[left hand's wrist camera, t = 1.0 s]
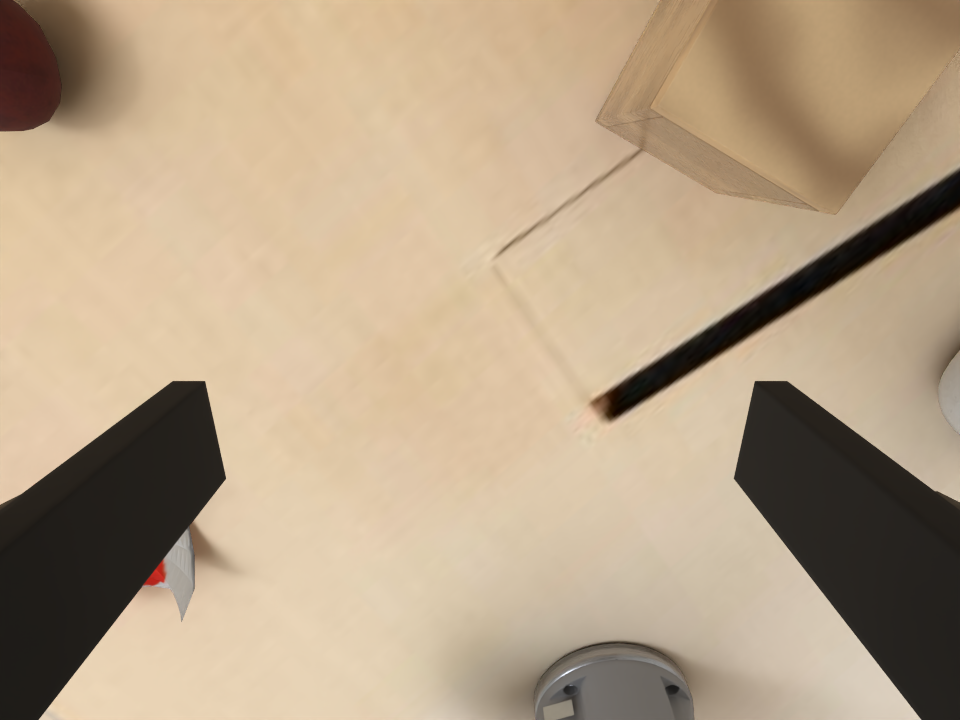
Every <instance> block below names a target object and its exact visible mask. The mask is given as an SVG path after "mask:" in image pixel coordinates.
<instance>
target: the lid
mask: <svg viewBox="0 0 960 720" xmlns="http://www.w3.org/2000/svg"><path fill="white" fill-rule="evenodd" d="M959 49H960V0H711V2H710V3H709V5H708V7H707V9H706V10H705V12H704V14H703V16H702V17H701V19H700V21H699V23H698V24H697V26H696V28H695V30H694V31H693V33H692V35H691V36H690V38H689V40H688V42H687V43H686V45H685V47H684V49H683V50H682V52H681V54H680V56H679V57H678V59H677V61H676V63H675V64H674V66H673V68H672V70H671V71H670V73H669V75H668V77H667V78H666V80H665V82H664V84H663V85H662V87H661V89H660V91H659V92H658V94H657V96H656V98H655V99H654V101H653V103H652V105H651V106H650V108H651V109H652V110H654V111H655V112H657V113H659V114H660V115H662V116H664V117H665V118H667V119H669V120H670V121H672V122H674V123H675V124H677V125H678V126H680V127H682V128H683V129H685V130H687V131H688V132H690V133H692V134H693V135H695V136H697V137H698V138H700V139H702V140H703V141H705V142H706V143H708V144H710V145H711V146H713V147H715V148H716V149H718V150H720V151H721V152H723V153H725V154H726V155H728V156H730V157H731V158H733V159H734V160H736V161H738V162H739V163H741V164H743V165H744V166H746V167H748V168H749V169H751V170H753V171H754V172H756V173H758V174H759V175H761V176H762V177H764V178H766V179H767V180H769V181H771V182H772V183H774V184H776V185H777V186H779V187H781V188H782V189H784V190H786V191H787V192H789V193H790V194H792V195H794V196H795V197H797V198H799V199H800V200H802V201H804V202H805V203H807V204H809V205H810V206H812V207H814V208H815V209H817V210H818V211H820V212H824V213H829V214H837V213H838V211H839V210H840V209H841V207H842V206H843V205H844V203H845V202H846V201H847V199H848V198H849V196H850V195H851V194H852V192H853V191H854V190H855V188H856V187H857V186H858V184H859V183H860V182H861V180H862V179H863V178H864V176H865V175H866V174H867V172H868V171H869V170H870V168H871V167H872V166H873V164H874V163H875V162H876V160H877V159H878V158H879V156H880V155H881V154H882V152H883V151H884V150H885V148H886V147H887V146H888V144H889V143H890V142H891V140H892V139H893V138H894V136H895V135H896V134H897V132H898V131H899V129H900V128H901V127H902V125H903V124H904V123H905V121H906V120H907V119H908V117H909V116H910V115H911V113H912V112H913V111H914V109H915V108H916V107H917V105H918V104H919V103H920V101H921V100H922V99H923V97H924V96H925V95H926V93H927V92H928V91H929V89H930V88H931V87H932V85H933V84H934V83H935V81H936V80H937V79H938V77H939V76H940V75H941V73H942V72H943V71H944V69H945V68H946V67H947V65H948V64H949V62H950V61H951V60H952V58H953V57H954V56H955V54H956V53H957V52H958V50H959Z"/></svg>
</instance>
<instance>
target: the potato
mask: <svg viewBox="0 0 960 720" xmlns="http://www.w3.org/2000/svg"><path fill="white" fill-rule="evenodd" d="M61 86H62V85H61V80H60V75H59V70H58V66H57V61H56V58H55V55H54V53H53V51H52V49H51V47H50V45H49V43H48V41H47V39H46V37H45V35H44V33H43V31H42V30H41V28H40V26H39V24H38V23H37V22H36V21H35V20H34V19H33V18H32V17H31V16H30V15H29V14H28V13H27V12H26V11H25V10H24V9H23V8H22V7H21V6H19V5H18V4H17V3H16V2H14V1H13V0H0V131H25V130H30V129H34V128H36V127H38V126H40V125H42V124H44V123H46V122H48V121H49V120H50V119H51V117H52V115H53V114H54V112H55V110H56V108H57V107H58V105H59V103H60V97H61Z"/></svg>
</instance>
